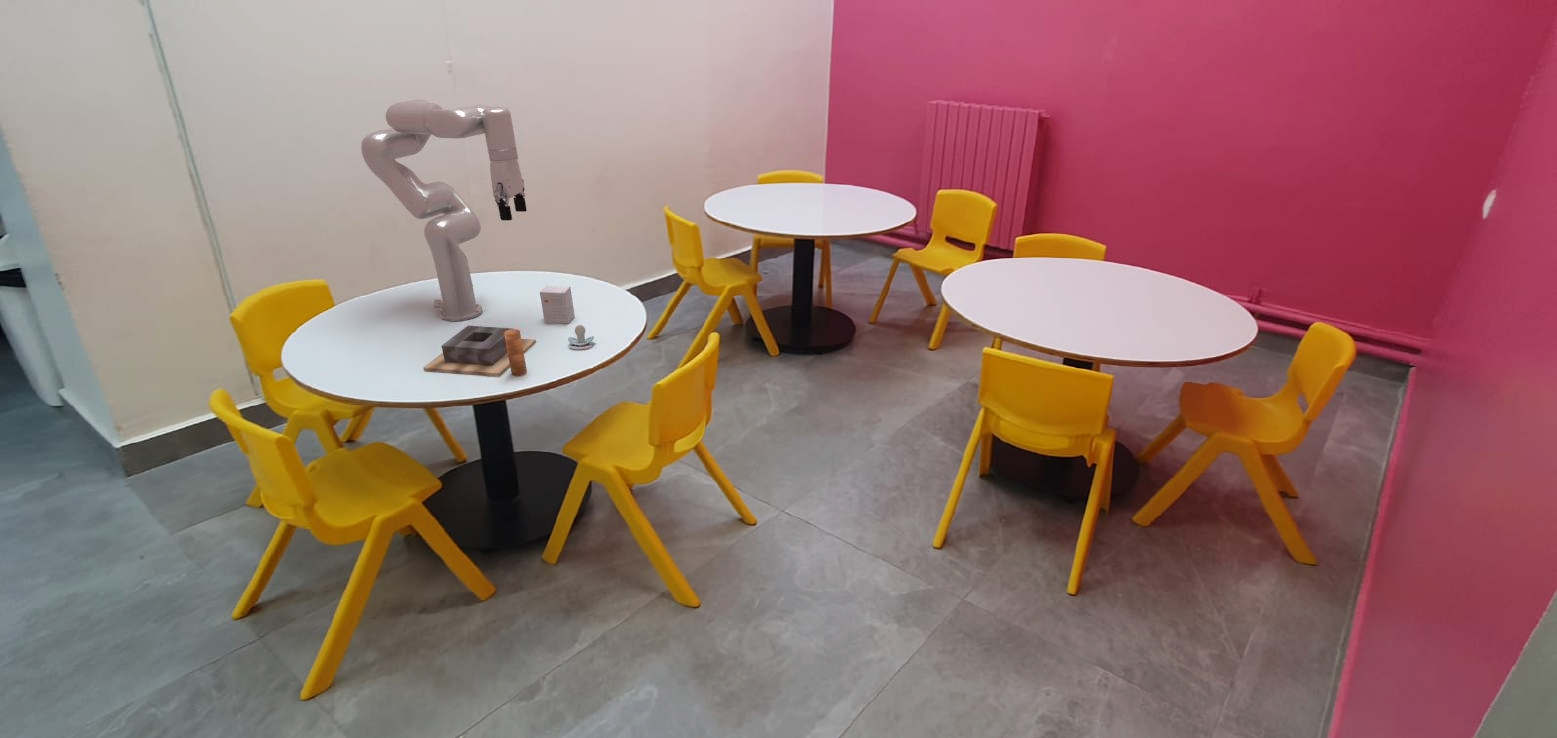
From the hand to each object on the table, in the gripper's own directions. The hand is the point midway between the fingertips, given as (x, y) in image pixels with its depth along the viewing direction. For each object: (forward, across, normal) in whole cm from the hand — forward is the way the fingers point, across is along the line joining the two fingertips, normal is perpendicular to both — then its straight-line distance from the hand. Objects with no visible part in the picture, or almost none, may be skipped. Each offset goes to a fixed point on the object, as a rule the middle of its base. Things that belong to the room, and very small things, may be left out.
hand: (514, 215), depth 213 cm
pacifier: (+36, +12, +19) cm, 42 cm away
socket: (+35, +22, -6) cm, 41 cm away
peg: (+35, +30, +9) cm, 47 cm away
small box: (+35, -6, +6) cm, 36 cm away
